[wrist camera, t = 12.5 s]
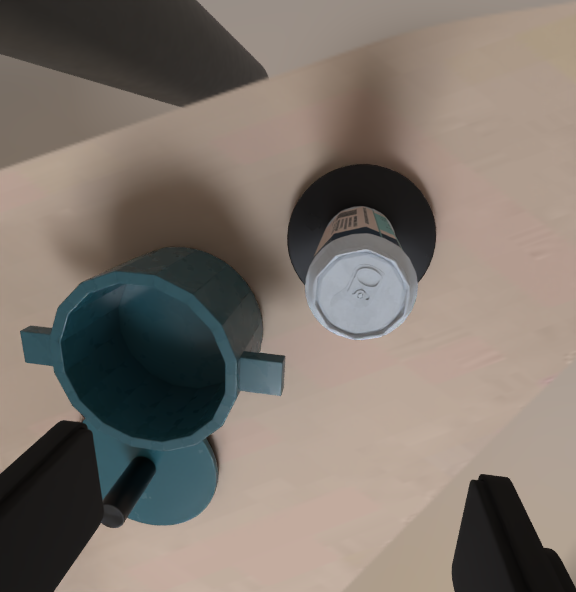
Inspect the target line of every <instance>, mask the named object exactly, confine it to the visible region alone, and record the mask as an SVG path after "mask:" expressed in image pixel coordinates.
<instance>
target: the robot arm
mask: <svg viewBox="0 0 576 592" xmlns="http://www.w3.org/2000/svg"><path fill="white" fill-rule="evenodd" d="M103 514H104V507H103V500H102V493H101V487H100V480H99V473H98V466H97V459H96V452H95V446H94V439H93V433H92V431H91V430H89V429H88V427H87V425H86V424H85V423H81V422H73V421H65V420H63V421H60V422H58V423H57V424H56V425H55V426H54V427H52V428H51V429H50V430H49V431H48V432H47V433H46V434H45V435H43V436H42V437H41V438H40V439H39V440H38V441H37V442H36V443H34V444H33V445H32V446H31V447H30V448H29V449H28V450H27V451H26V452H24V453H23V454H22V455H21V456H20V457H19V458H18V459H17V460H15V461H14V462H13V463H12V464H11V465H10V466H9V467H8V468H6V469H5V470H4V471H3V472H2V473H1V474H0V592H54V590H55V589H56V587H57V586H58V585H59V583H60V582H61V580H62V579H63V577H64V576H65V574H66V573H67V572H68V570H69V569H70V567H71V566H72V564H73V563H74V561H75V560H76V559H77V557H78V556H79V554H80V553H81V551H82V550H83V548H84V547H85V546H86V544H87V543H88V541H89V540H90V538H91V537H92V536H93V534H94V533H95V531H96V530H97V528H98V527H99V525H100V523H101V521H102V518H103ZM452 581H453V586H454V591H455V592H576V588H575V586H574V584H573V582H572V580H571V578H570V576H569V574H568V572H567V570H566V569H565V566H564V564H563V562H562V561H561V559H560V557H559V556H558V554H557V553H556V552H555V551H554V550H552V549H549V548H543V546H542V543H541V541H540V539H539V537H538V535H537V533H536V531H535V529H534V527H533V525H532V523H531V521H530V519H529V517H528V515H527V513H526V510H525V508H524V506H523V504H522V502H521V500H520V498H519V496H518V494H517V492H516V490H515V488H514V486H513V484H512V482H511V480H510V479H509V478H508V477H501V476H493V475H485V474H481V475H480V476H479V478H478V480H471V482H470V485H469V489H468V494H467V498H466V503H465V508H464V512H463V517H462V522H461V526H460V531H459V536H458V540H457V545H456V549H455V554H454V559H453V563H452Z"/></svg>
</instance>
